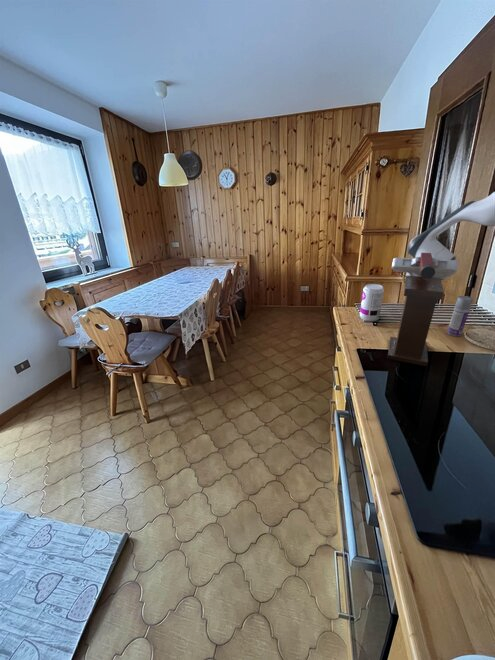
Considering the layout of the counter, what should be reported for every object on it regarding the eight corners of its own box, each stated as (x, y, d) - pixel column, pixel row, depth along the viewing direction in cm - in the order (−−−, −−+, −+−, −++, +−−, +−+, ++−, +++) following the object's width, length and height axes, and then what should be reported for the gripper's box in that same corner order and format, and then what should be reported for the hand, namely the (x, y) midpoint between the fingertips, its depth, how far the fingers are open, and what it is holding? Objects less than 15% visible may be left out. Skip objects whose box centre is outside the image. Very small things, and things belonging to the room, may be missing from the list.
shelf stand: (389, 340, 110) (402, 275, 98) (425, 346, 104) (444, 278, 92) (387, 358, 99) (401, 288, 87) (426, 366, 94) (448, 292, 81)
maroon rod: (418, 261, 101) (420, 250, 100) (430, 261, 100) (432, 251, 98) (419, 278, 84) (422, 266, 83) (433, 279, 83) (436, 267, 81)
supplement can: (358, 320, 126) (362, 288, 119) (361, 313, 132) (365, 282, 125) (377, 323, 122) (383, 290, 116) (379, 315, 129) (385, 284, 122)
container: (457, 330, 113) (468, 295, 106) (463, 336, 109) (476, 300, 102) (444, 330, 113) (455, 295, 106) (450, 336, 109) (462, 300, 102)
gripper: (392, 260, 112) (393, 249, 100) (454, 263, 103) (464, 251, 91) (389, 276, 112) (390, 266, 100) (451, 280, 103) (460, 271, 91)
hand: (426, 259), depth 95 cm, fingers closed on maroon rod, 3 cm apart
